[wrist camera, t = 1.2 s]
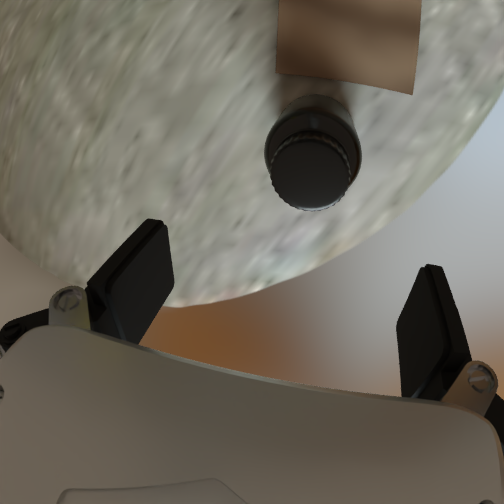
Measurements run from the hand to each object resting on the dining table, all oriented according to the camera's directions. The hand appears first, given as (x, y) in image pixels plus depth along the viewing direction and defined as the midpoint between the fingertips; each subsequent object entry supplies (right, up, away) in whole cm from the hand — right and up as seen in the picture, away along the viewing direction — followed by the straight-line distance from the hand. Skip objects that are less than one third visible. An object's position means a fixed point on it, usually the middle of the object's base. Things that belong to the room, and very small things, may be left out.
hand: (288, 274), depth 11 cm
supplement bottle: (+5, +12, +16) cm, 21 cm away
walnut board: (+7, +21, +9) cm, 24 cm away
